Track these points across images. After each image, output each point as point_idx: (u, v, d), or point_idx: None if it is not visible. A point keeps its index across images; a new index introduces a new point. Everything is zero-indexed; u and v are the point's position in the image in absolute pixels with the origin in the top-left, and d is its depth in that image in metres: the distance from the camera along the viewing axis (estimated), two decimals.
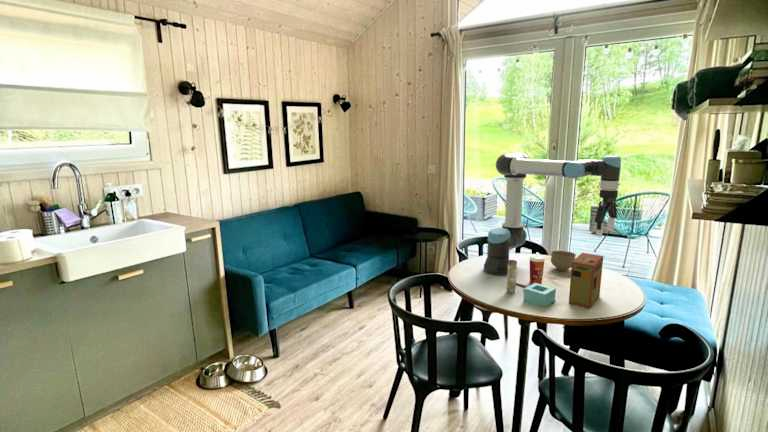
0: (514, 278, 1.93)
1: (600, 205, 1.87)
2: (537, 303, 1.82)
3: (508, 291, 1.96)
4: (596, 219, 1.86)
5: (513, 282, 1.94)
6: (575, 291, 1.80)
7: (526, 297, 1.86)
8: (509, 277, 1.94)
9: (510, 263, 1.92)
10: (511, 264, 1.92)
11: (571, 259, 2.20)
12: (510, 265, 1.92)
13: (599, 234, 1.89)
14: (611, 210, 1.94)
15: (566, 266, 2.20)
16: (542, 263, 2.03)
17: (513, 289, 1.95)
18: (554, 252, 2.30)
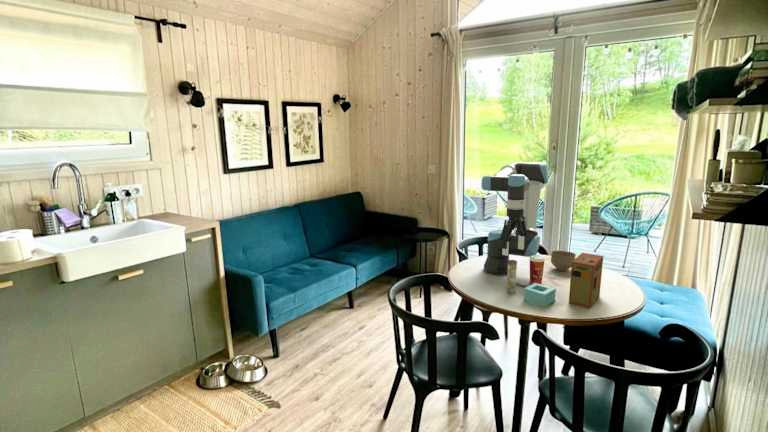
0: (514, 278, 1.93)
1: (505, 224, 1.85)
2: (537, 303, 1.82)
3: (508, 291, 1.96)
4: (501, 238, 1.85)
5: (513, 282, 1.94)
6: (575, 291, 1.80)
7: (526, 297, 1.86)
8: (509, 277, 1.94)
9: (510, 263, 1.92)
10: (511, 264, 1.92)
11: (571, 259, 2.20)
12: (510, 265, 1.92)
13: (505, 253, 1.87)
14: (519, 228, 1.92)
15: (566, 266, 2.20)
16: (542, 263, 2.03)
17: (513, 289, 1.95)
18: (554, 252, 2.30)
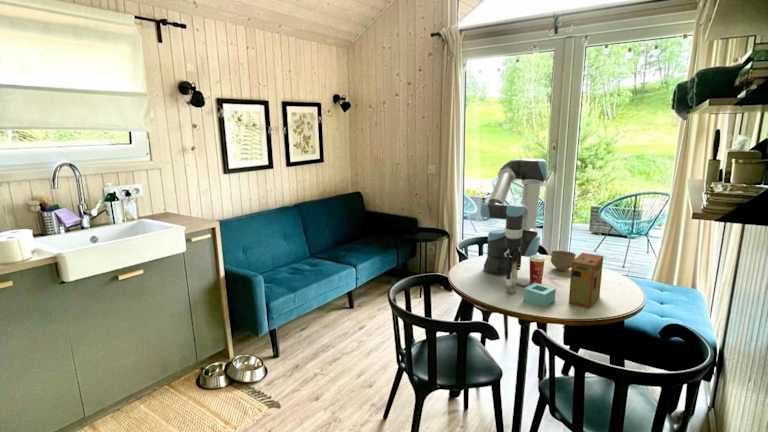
0: (514, 278, 1.93)
1: (504, 256, 1.89)
2: (537, 303, 1.82)
3: (508, 291, 1.96)
4: (504, 269, 1.91)
5: (513, 282, 1.94)
6: (575, 291, 1.80)
7: (526, 297, 1.86)
8: None
9: None
10: None
11: (571, 259, 2.20)
12: None
13: (509, 283, 1.94)
14: (515, 259, 1.94)
15: (566, 266, 2.20)
16: (542, 263, 2.03)
17: (513, 289, 1.95)
18: (554, 252, 2.30)
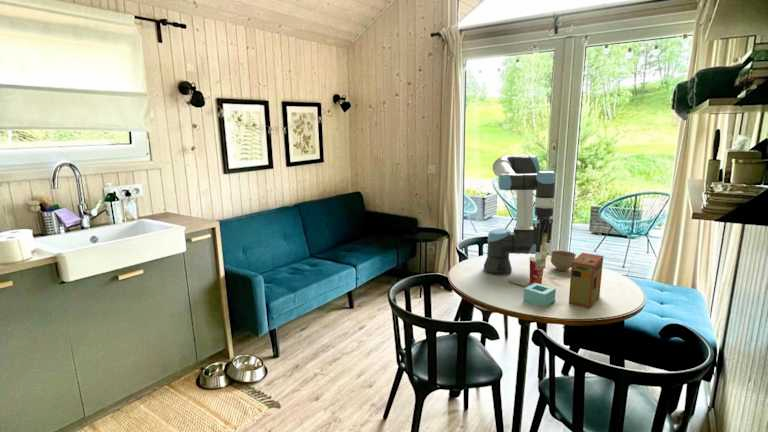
0: (544, 251, 1.80)
1: (534, 227, 1.76)
2: (537, 303, 1.82)
3: (537, 265, 1.83)
4: (534, 241, 1.78)
5: (543, 255, 1.81)
6: (575, 291, 1.80)
7: (526, 297, 1.86)
8: None
9: None
10: None
11: (571, 259, 2.20)
12: None
13: (538, 257, 1.81)
14: (545, 231, 1.81)
15: (566, 266, 2.20)
16: None
17: (543, 263, 1.81)
18: (554, 252, 2.30)
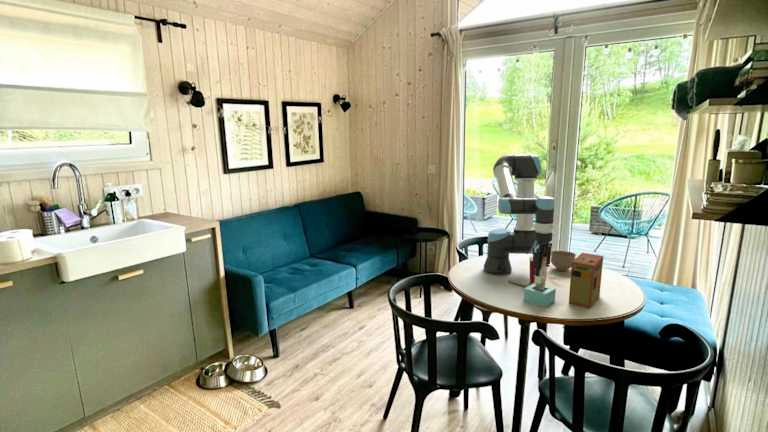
0: (544, 275, 1.83)
1: (534, 252, 1.79)
2: (537, 303, 1.82)
3: (537, 289, 1.85)
4: (534, 266, 1.80)
5: (543, 279, 1.83)
6: (575, 291, 1.80)
7: (526, 297, 1.86)
8: None
9: None
10: None
11: (571, 259, 2.20)
12: None
13: (538, 281, 1.83)
14: (545, 255, 1.83)
15: (566, 266, 2.20)
16: None
17: (542, 287, 1.84)
18: (554, 252, 2.30)
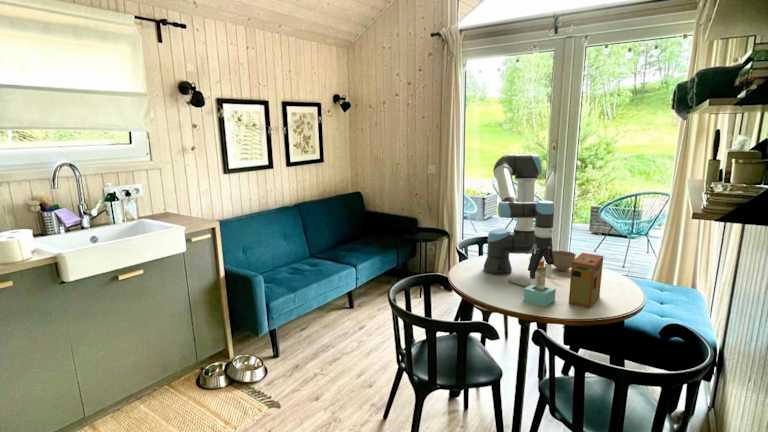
0: (543, 285, 1.84)
1: (533, 253, 1.78)
2: (537, 303, 1.82)
3: None
4: (529, 268, 1.78)
5: (542, 290, 1.84)
6: (575, 291, 1.80)
7: (526, 297, 1.86)
8: (538, 284, 1.84)
9: (539, 270, 1.83)
10: (540, 270, 1.82)
11: (571, 259, 2.20)
12: (539, 272, 1.83)
13: (533, 283, 1.80)
14: (547, 257, 1.85)
15: (566, 266, 2.20)
16: (542, 263, 2.03)
17: None
18: (554, 252, 2.30)
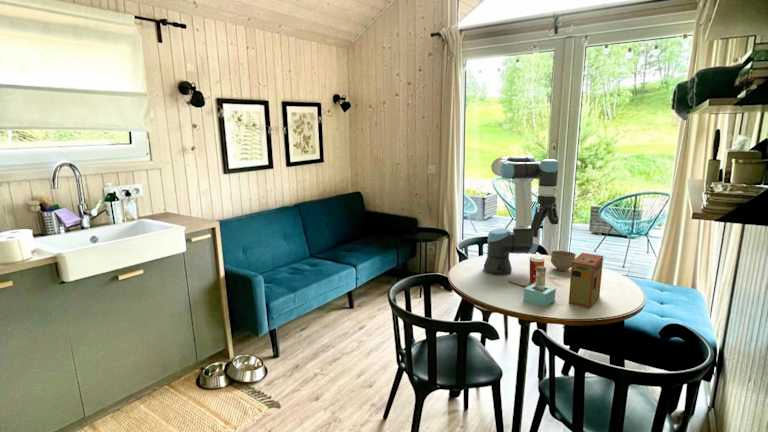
0: (543, 285, 1.84)
1: (536, 211, 1.78)
2: (537, 303, 1.82)
3: None
4: (532, 226, 1.77)
5: (542, 290, 1.84)
6: (575, 291, 1.80)
7: (526, 297, 1.86)
8: (538, 284, 1.84)
9: (539, 270, 1.83)
10: (540, 270, 1.82)
11: (571, 259, 2.20)
12: (539, 272, 1.83)
13: (536, 242, 1.80)
14: (551, 216, 1.85)
15: (566, 266, 2.20)
16: (542, 263, 2.03)
17: None
18: (554, 252, 2.30)
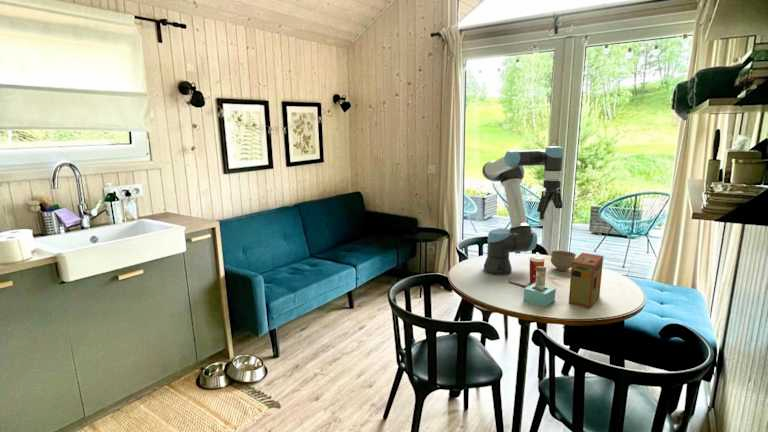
0: (543, 285, 1.84)
1: (542, 195, 1.89)
2: (537, 303, 1.82)
3: None
4: (538, 209, 1.88)
5: (542, 290, 1.84)
6: (575, 291, 1.80)
7: (526, 297, 1.86)
8: (538, 284, 1.84)
9: (539, 270, 1.83)
10: (540, 270, 1.82)
11: (571, 259, 2.20)
12: (539, 272, 1.83)
13: (542, 224, 1.91)
14: (555, 200, 1.96)
15: (566, 266, 2.20)
16: (542, 263, 2.03)
17: None
18: (554, 252, 2.30)
